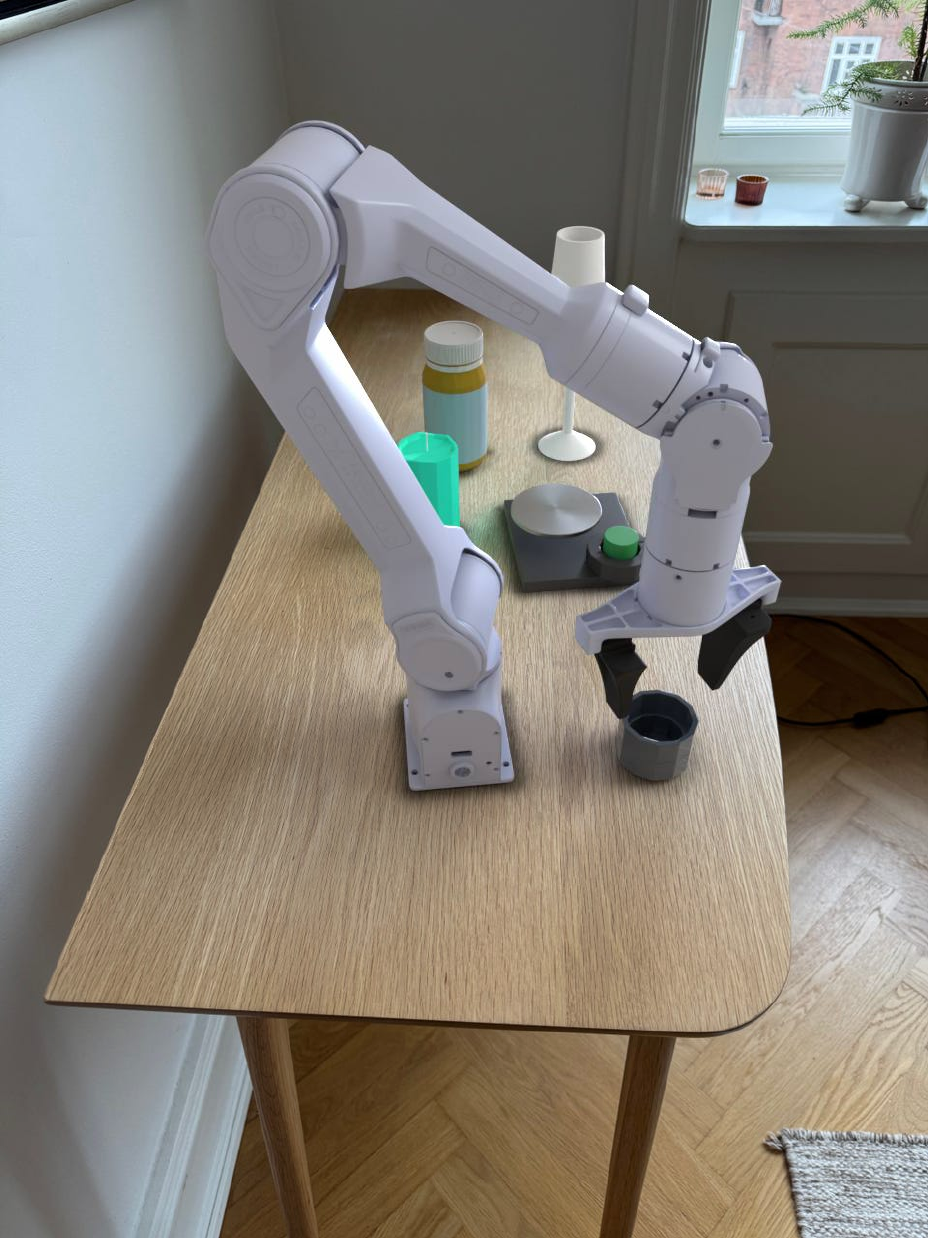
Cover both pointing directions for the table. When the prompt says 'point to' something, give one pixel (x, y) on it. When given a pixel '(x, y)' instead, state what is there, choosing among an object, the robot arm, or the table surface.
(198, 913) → the table surface
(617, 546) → the tare button
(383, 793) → the table surface
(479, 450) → the bottle
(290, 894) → the table surface
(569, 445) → the champagne flute
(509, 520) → the scale
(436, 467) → the candle
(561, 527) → the scale pan
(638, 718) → the faceted grey cup
